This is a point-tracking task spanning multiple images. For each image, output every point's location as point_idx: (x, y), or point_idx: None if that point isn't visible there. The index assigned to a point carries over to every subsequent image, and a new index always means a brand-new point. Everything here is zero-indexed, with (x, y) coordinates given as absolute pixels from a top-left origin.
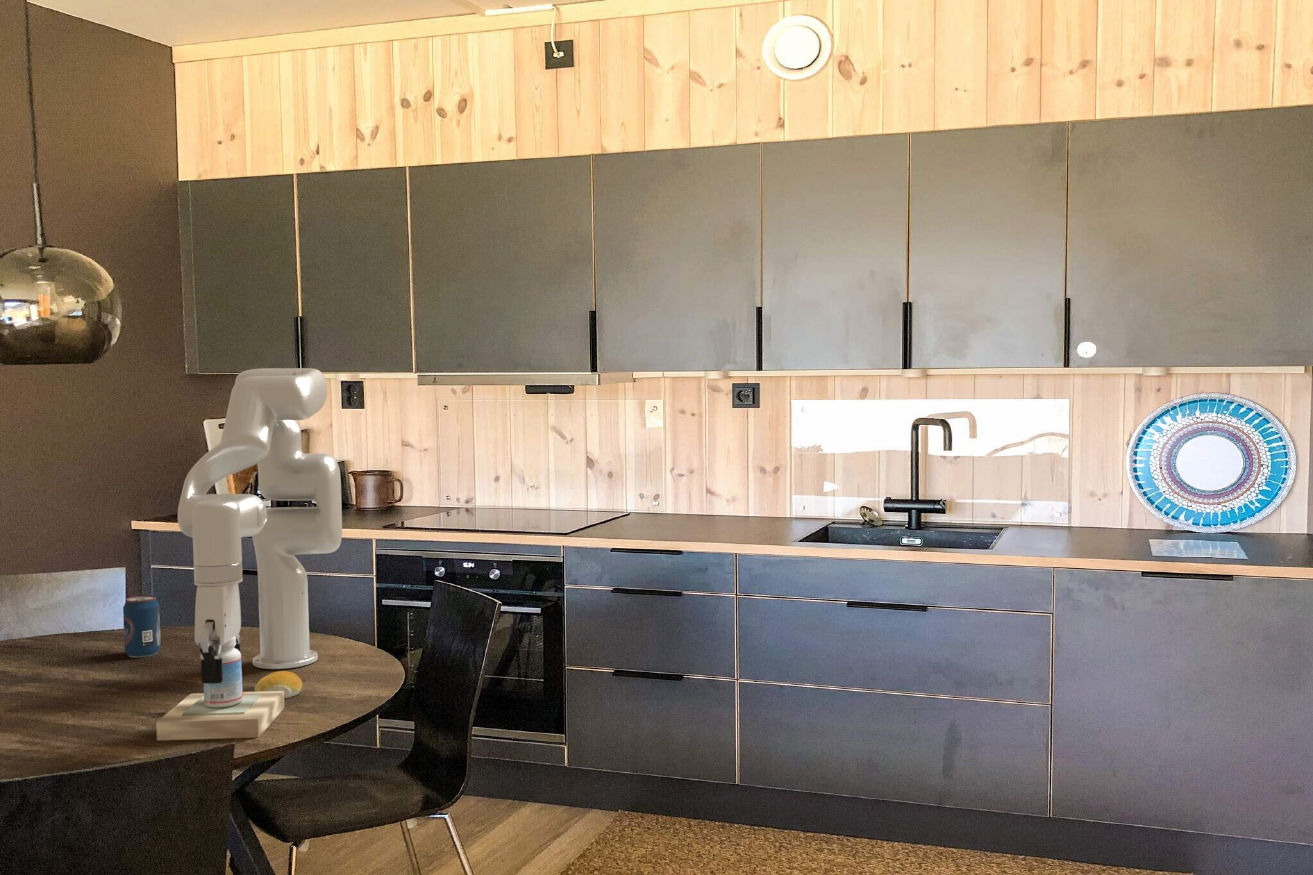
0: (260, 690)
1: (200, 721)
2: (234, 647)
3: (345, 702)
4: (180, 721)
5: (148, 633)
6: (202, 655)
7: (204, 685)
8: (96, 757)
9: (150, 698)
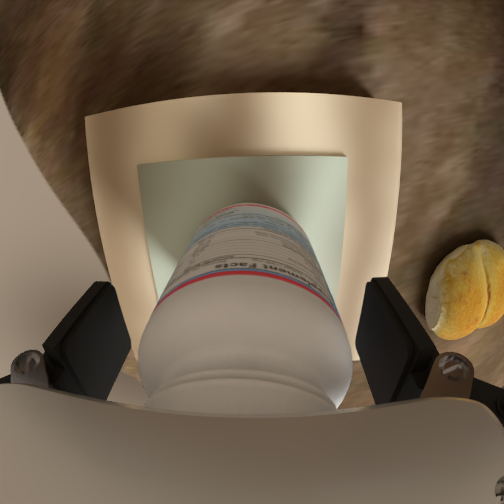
0: (448, 272)
1: (102, 239)
2: (383, 399)
3: (357, 406)
4: (92, 185)
5: None
6: (1, 378)
7: (197, 239)
8: (29, 58)
9: (467, 3)
